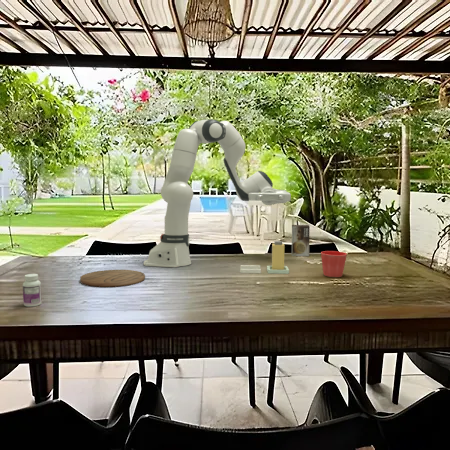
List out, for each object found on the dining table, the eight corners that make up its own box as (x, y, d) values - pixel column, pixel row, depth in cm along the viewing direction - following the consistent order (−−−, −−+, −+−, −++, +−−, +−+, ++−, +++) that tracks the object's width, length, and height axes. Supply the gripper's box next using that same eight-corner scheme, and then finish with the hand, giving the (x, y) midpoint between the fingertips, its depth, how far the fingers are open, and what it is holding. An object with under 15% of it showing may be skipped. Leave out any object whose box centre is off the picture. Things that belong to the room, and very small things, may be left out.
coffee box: (308, 254, 239) (309, 224, 238) (309, 256, 233) (310, 226, 231) (291, 253, 240) (291, 224, 238) (291, 255, 234) (292, 225, 232)
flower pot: (347, 274, 190) (348, 251, 189) (343, 279, 180) (344, 255, 179) (323, 271, 195) (324, 250, 194) (317, 276, 185) (318, 253, 184)
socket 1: (240, 272, 191) (240, 269, 190) (240, 268, 200) (240, 265, 200) (261, 273, 190) (261, 269, 190) (260, 268, 199) (260, 265, 199)
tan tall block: (272, 272, 192) (272, 242, 191) (271, 270, 197) (272, 240, 196) (283, 272, 192) (284, 242, 190) (282, 270, 197) (283, 241, 195)
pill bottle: (27, 302, 143) (25, 273, 142) (43, 302, 144) (42, 273, 143) (20, 307, 138) (19, 276, 137) (38, 306, 138) (37, 276, 137)
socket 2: (267, 273, 190) (268, 269, 190) (267, 269, 199) (267, 265, 199) (288, 273, 190) (289, 270, 190) (287, 269, 199) (287, 266, 199)
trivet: (66, 284, 168) (66, 280, 168) (105, 272, 192) (105, 267, 191) (122, 291, 160) (122, 285, 160) (156, 276, 183) (156, 272, 183)
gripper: (248, 189, 221) (248, 190, 207) (289, 190, 220) (292, 191, 206) (248, 202, 222) (248, 203, 208) (288, 202, 221) (291, 204, 207)
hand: (270, 197), depth 207 cm, fingers open, 8 cm apart
